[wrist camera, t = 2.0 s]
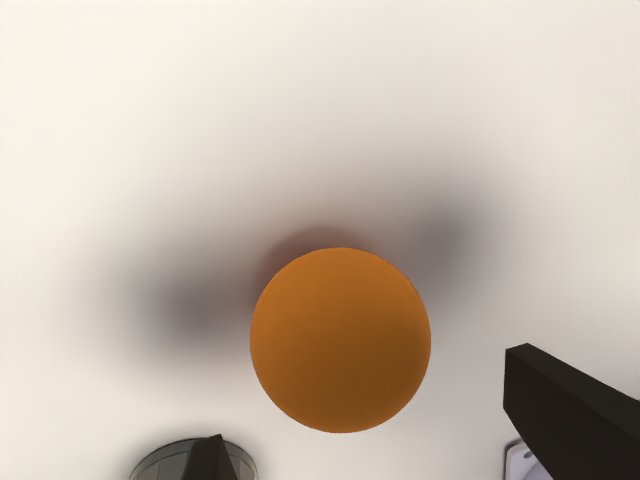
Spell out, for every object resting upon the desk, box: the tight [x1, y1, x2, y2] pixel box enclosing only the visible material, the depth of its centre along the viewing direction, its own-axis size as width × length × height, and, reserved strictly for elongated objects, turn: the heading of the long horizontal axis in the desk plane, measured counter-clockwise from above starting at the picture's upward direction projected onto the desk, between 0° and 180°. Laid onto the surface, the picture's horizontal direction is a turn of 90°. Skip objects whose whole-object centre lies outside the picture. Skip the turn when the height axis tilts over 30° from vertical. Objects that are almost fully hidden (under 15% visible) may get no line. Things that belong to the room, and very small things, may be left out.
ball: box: [250, 247, 431, 433], centre depth 13 cm, size 6×6×6 cm
